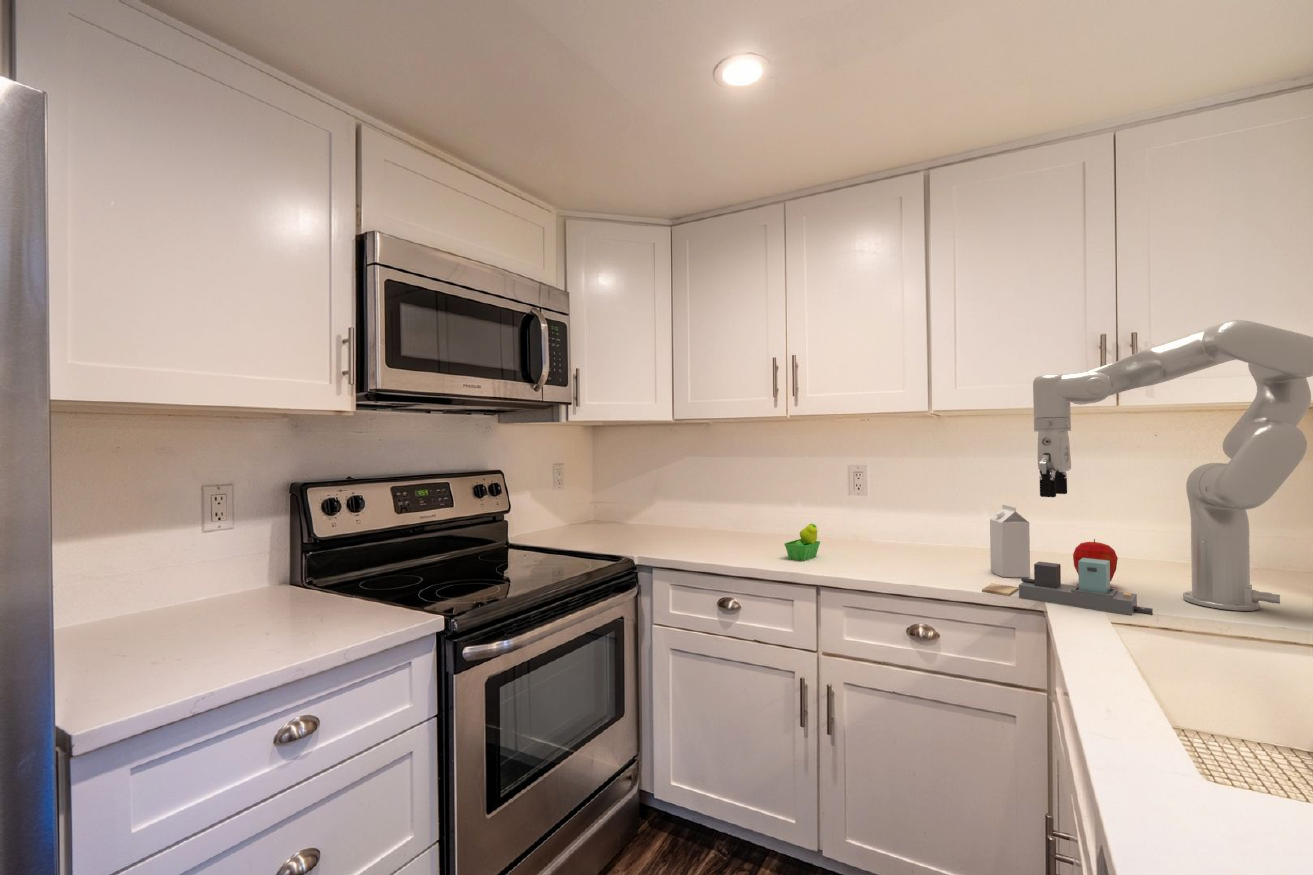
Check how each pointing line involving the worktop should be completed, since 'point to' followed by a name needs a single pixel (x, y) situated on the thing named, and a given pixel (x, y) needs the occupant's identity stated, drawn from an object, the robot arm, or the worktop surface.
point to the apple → (1096, 554)
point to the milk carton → (1009, 543)
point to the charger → (1094, 575)
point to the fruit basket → (804, 544)
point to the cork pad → (1000, 589)
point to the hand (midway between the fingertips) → (1053, 495)
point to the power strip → (1075, 592)
